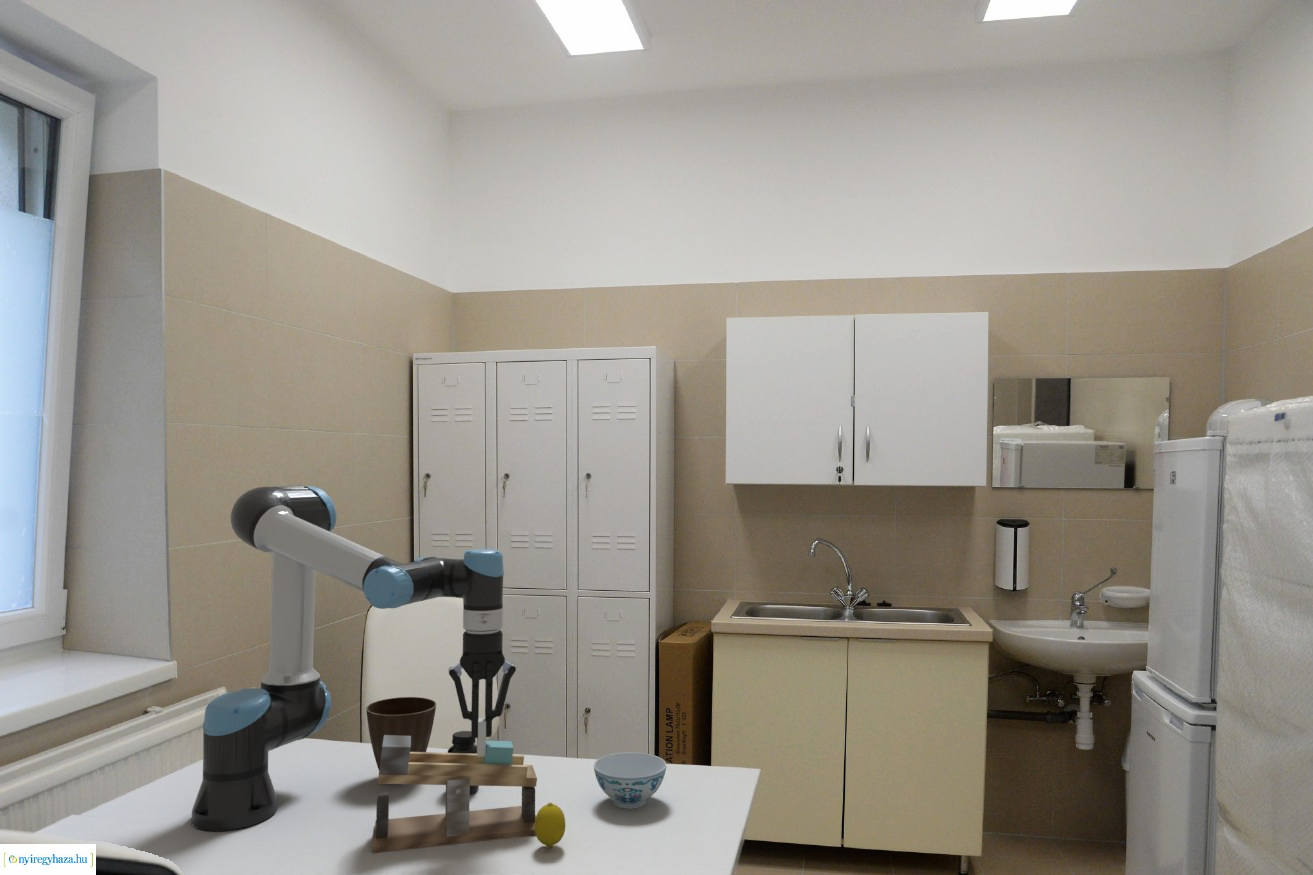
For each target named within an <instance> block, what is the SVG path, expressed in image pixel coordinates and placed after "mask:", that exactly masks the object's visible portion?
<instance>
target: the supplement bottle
mask: <svg viewBox="0 0 1313 875" xmlns="http://www.w3.org/2000/svg"><path fill="white" fill-rule="evenodd" d="M476 743H477V739H476V738H472V734H471V730H461V731H456V732H453V734H452V740H451V744H452V745H451V746H450V747H449V748H448V750H447V752H446V753H470V754H477V744H476ZM479 787H480V786H471V785H470V794H469V796H470V795H473V794H475V793H477V792H478V790H479Z"/></svg>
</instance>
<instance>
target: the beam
mask: <svg viewBox="0 0 1313 875" xmlns="http://www.w3.org/2000/svg"><path fill="white" fill-rule="evenodd" d="M410 748H411V736H399V735H384V739H383V745H382V753H381V761H380V768H379V769H378V778H377V784H378V785H425V786H426V785H427V786H431V785H432V786H433V785H434V786H446V785H447V780H454V779H466V778H469V779H470V785H471V786H479V787H480V786H484V787H485V786H486V787H487V786H488V787H522V786H524V787H535V788H536V787H537V782H538V777H537V774H536V772H535V769H534V766H533V765H532V764H524V762H525V761H524V760H525V755H524V754H513V756H512V765H502V764H483V759H484V756H482V757H478V755H477V754H470V753H447V752H434V751H433V752H431V751H430V752H428V751H426V752H410Z"/></svg>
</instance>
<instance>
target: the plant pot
mask: <svg viewBox="0 0 1313 875" xmlns="http://www.w3.org/2000/svg"><path fill="white" fill-rule="evenodd" d="M436 709H437V702H436V701H434V700H433V699H431V698H426V697H418V696H405V697H404V696H399V697H390V698H385V699H381V700H377V701H374V702H371V703H370V704H368V705H367V706H366V708H365V712H366V720H367V728H368V732H369V733H368V734H369V739H370V744H371V749H372V751H373V755H374V760H375V762H376V767H377V768H378V770H379V768H380V761H381V753H382V745H383V739H384V735H399V736H411V748H410V752H427V750H428V746H429V743H430V739H431V735H432V731H433V726H434V721H435V716H436V711H437V710H436Z"/></svg>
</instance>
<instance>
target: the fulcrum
mask: <svg viewBox="0 0 1313 875" xmlns="http://www.w3.org/2000/svg"><path fill="white" fill-rule="evenodd" d="M469 794H470V779H469V778H466V779H454V780H447V785H445V808H444V809H445V813H439V814H426V815H418V816H407V817H405V816H404V817H396V818H390V817H389V815H390V813H389V812H390V808H389V807H390V793H386V792H385V793H378V794H377V798H376V818H375V819H376V820H375V824H374V829H373V837H372V845H371V853H373V854H374V853H381V852H382V853H384V852H391V851H400V850H401V851H402V850H410V849H419V848H430V847H437V846H438V847H439V846H447V845H448V846H449V845H455V844H456V845H458V844H465V843H474V842H476V843H477V842H483V841H493V840H502V839H510V838H512V839H513V838H521V837H529V836H530V837H531V836H536V833H535V820H536V816H537V814H536V787H524V786H521V805H519V806H518V805H517V806H508V807H506V806H505V807H497V808H488V809H477V810H476V809H475V810H470V795H469Z"/></svg>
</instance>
